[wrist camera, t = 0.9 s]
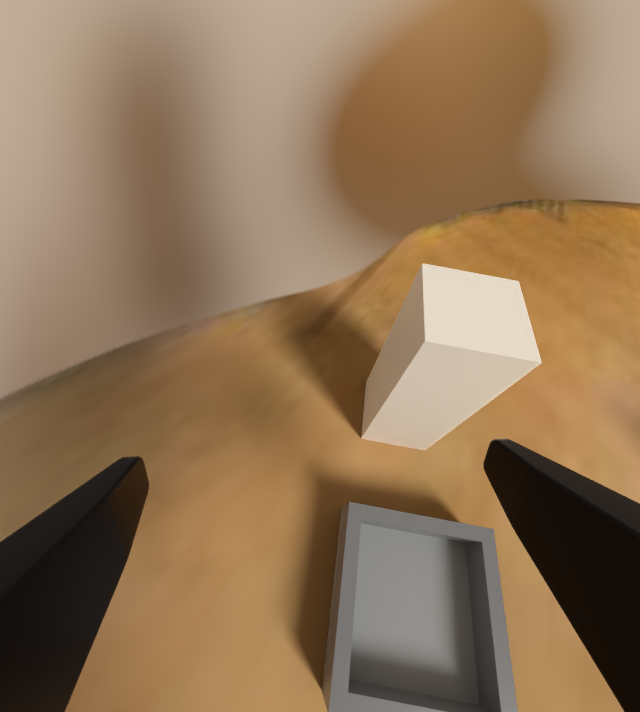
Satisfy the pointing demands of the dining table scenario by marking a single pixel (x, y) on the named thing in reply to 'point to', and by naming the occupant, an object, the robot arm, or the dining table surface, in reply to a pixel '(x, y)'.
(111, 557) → the robot arm
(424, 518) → the dock tray
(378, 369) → the block
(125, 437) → the dining table surface
